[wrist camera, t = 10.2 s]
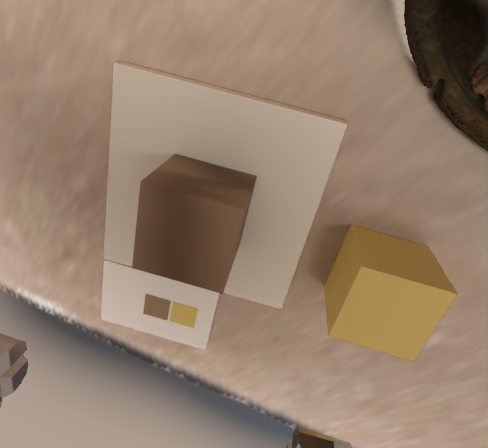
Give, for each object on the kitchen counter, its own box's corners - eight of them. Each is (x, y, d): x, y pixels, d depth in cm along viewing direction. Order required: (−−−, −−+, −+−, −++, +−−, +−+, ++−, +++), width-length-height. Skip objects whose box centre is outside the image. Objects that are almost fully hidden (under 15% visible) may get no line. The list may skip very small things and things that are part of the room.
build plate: (345, 120, 20) (347, 124, 19) (282, 298, 26) (281, 309, 25) (123, 61, 20) (113, 62, 19) (111, 250, 26) (103, 258, 25)
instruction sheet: (219, 292, 27) (219, 293, 26) (205, 349, 29) (205, 350, 29) (104, 259, 27) (103, 260, 27) (101, 318, 30) (100, 319, 30)
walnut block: (257, 176, 21) (244, 210, 17) (238, 247, 23) (222, 293, 19) (175, 153, 21) (140, 181, 17) (165, 226, 23) (132, 268, 19)
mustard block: (427, 245, 23) (457, 293, 18) (394, 305, 25) (413, 361, 20) (350, 224, 23) (361, 266, 18) (324, 285, 25) (328, 336, 21)
